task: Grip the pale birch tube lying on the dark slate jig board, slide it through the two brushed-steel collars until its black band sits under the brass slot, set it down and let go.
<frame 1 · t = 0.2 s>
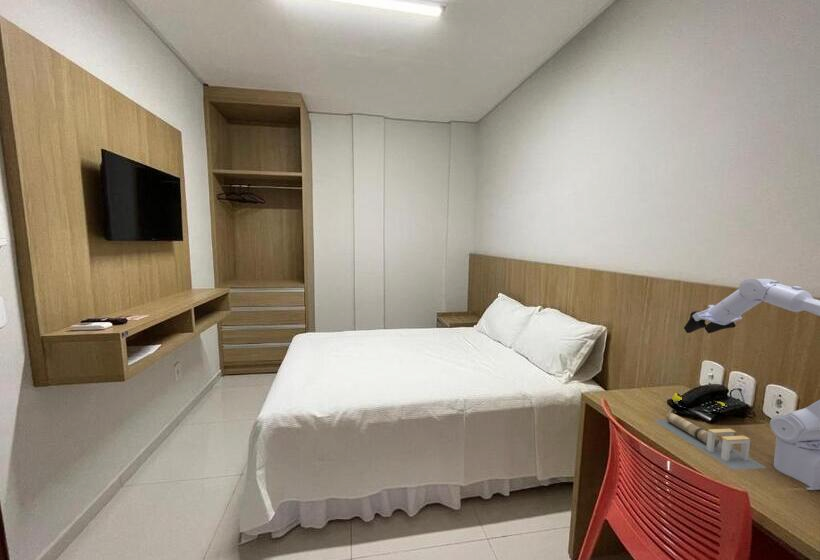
hand: (696, 330, 109), 31 cm above the table, tool tilted 45°, fingers open, 7 cm apart
collar jig: (702, 443, 98), on the table
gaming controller: (694, 411, 119), on the table
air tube: (690, 433, 101), point 1 cm above the table, touching collar jig
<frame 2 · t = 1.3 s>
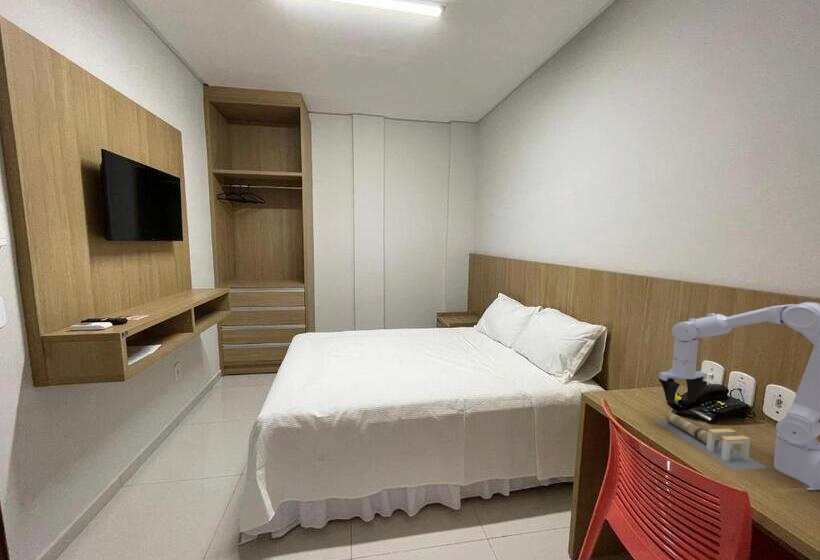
hand: (680, 401, 105), 9 cm above the table, tool pointing down, fingers open, 7 cm apart
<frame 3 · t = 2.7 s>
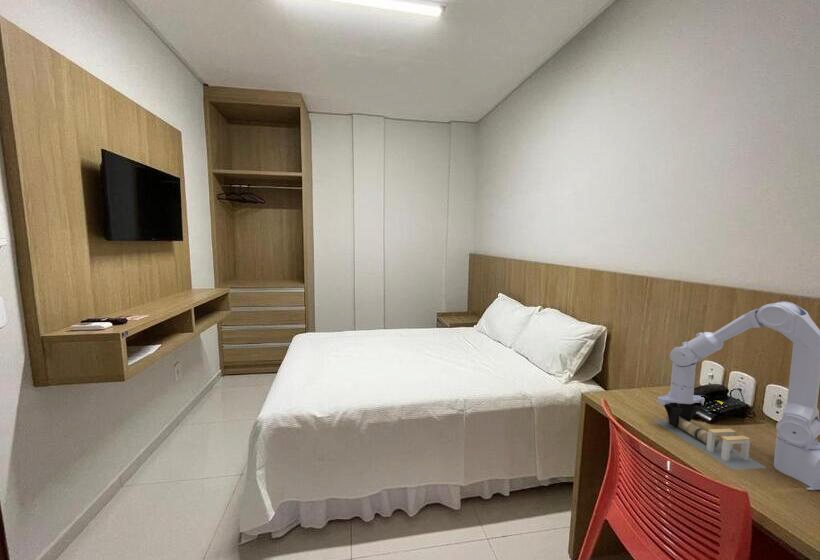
hand: (678, 425, 105), 1 cm above the table, tool pointing down, fingers closed on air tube, 3 cm apart
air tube: (690, 433, 101), point 1 cm above the table, touching collar jig, gripper
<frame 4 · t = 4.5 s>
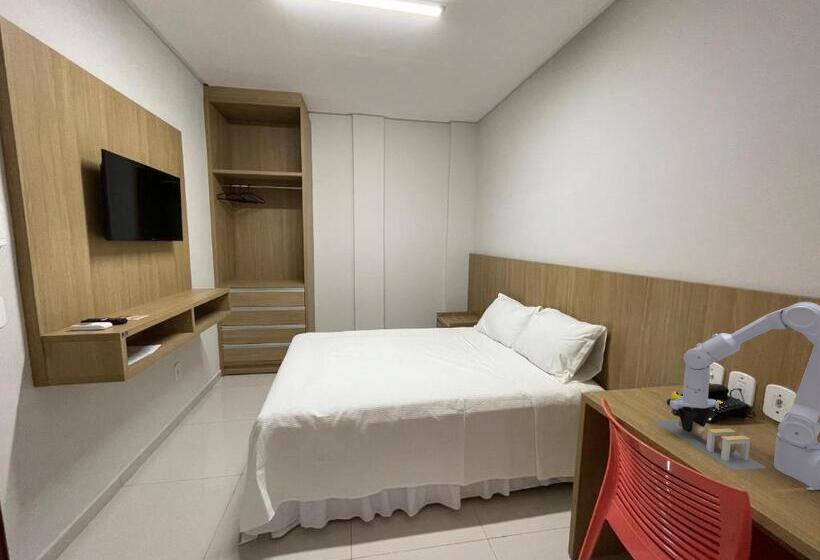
hand: (692, 430, 101), 2 cm above the table, tool pointing down, fingers closed on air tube, 3 cm apart
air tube: (704, 439, 97), point 2 cm above the table, touching gripper
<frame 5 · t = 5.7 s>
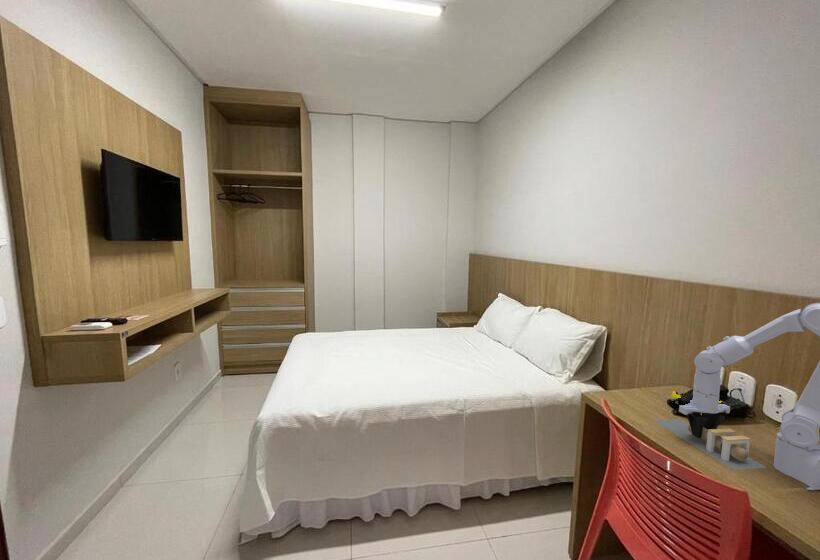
hand: (701, 435, 98), 2 cm above the table, tool pointing down, fingers closed on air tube, 3 cm apart
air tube: (715, 445, 94), point 2 cm above the table, touching gripper
when the fingers open (2 cm above the table, at t = 6.3 s): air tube stays where it is, resting on collar jig.
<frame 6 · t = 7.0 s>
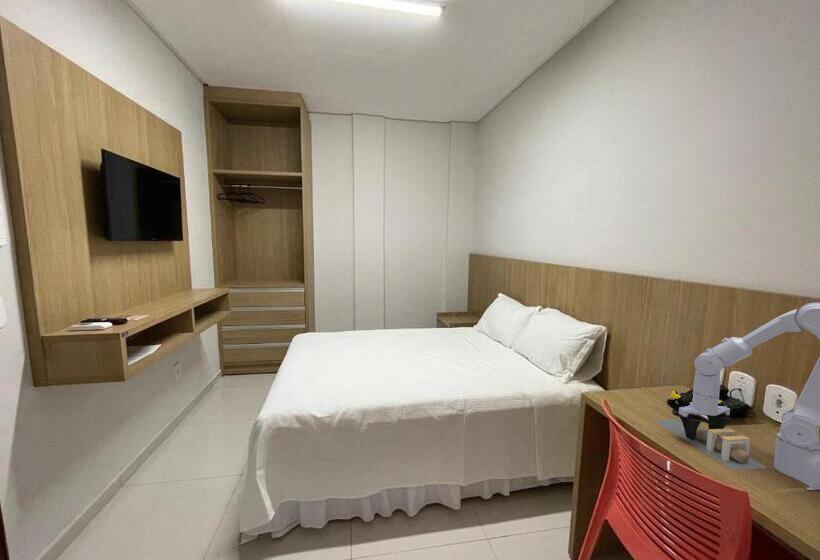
hand: (701, 437, 98), 2 cm above the table, tool pointing down, fingers open, 7 cm apart
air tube: (715, 447, 94), point 1 cm above the table, tilted 12°, touching collar jig
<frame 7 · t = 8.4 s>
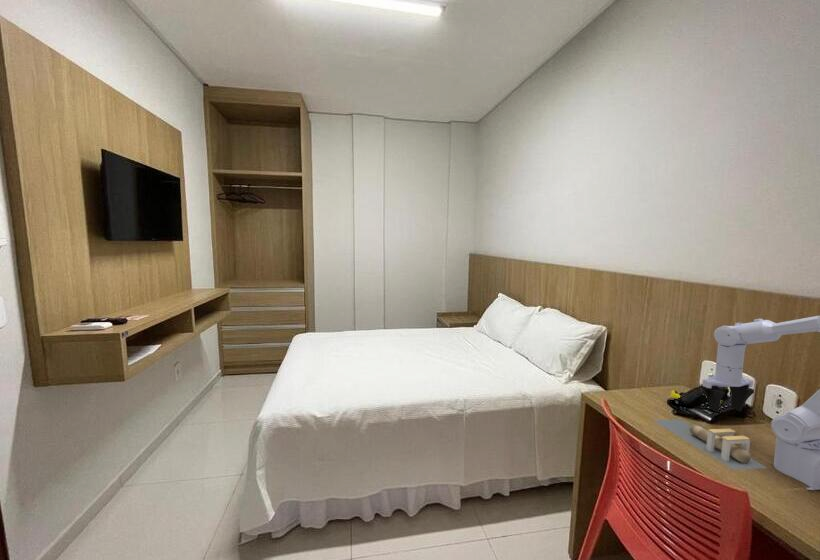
hand: (724, 409, 99), 9 cm above the table, tool pointing down, fingers open, 7 cm apart
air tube: (715, 447, 94), point 1 cm above the table, tilted 27°, touching collar jig
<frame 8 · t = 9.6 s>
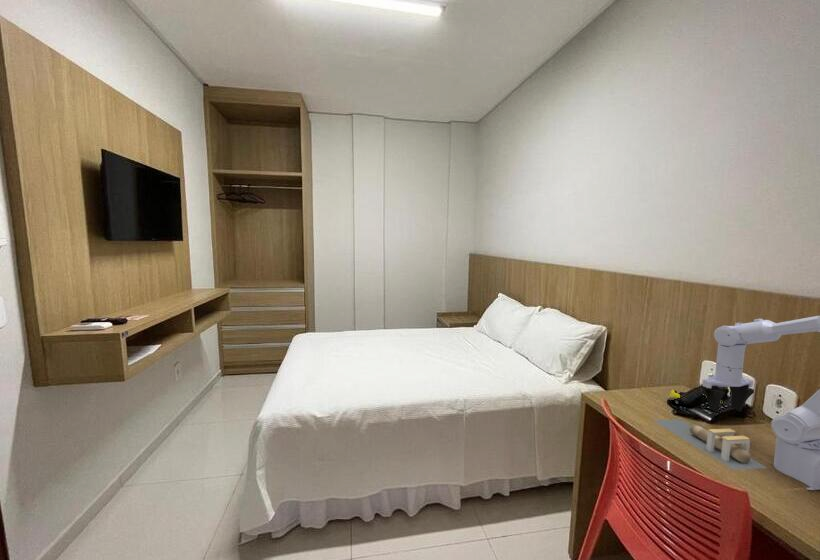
hand: (724, 409, 99), 9 cm above the table, tool pointing down, fingers open, 7 cm apart
at the end: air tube 0.0 cm from the target spot, point 1.0 cm above the table; the gripper is holding nothing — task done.
